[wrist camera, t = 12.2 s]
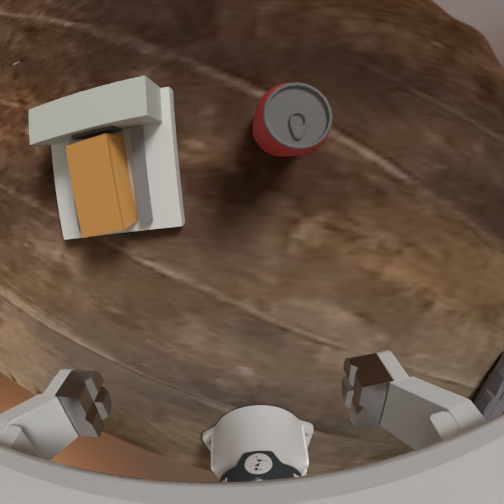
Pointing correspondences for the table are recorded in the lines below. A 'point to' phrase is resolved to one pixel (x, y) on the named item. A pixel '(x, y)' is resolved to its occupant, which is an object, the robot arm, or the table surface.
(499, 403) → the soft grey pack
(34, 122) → the white l-shaped stand
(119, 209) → the cardboard box
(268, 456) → the robot arm
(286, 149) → the beer can
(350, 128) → the table surface
